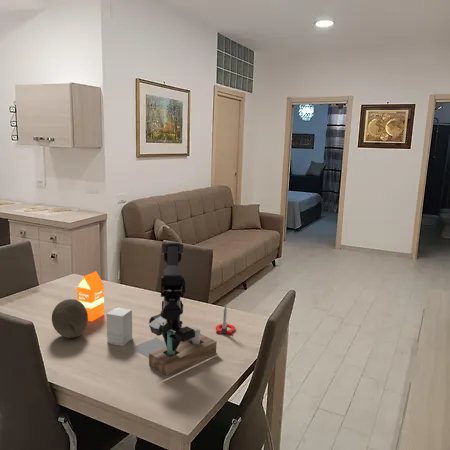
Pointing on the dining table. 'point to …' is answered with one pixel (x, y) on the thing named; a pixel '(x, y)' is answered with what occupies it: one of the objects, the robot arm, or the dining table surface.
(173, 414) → the dining table surface
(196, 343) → the grey peg
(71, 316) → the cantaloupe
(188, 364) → the hole block
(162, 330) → the robot arm
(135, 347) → the mat
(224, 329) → the tow hook
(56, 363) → the dining table surface
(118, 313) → the supplement box
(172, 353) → the teal peg
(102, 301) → the orange juice
